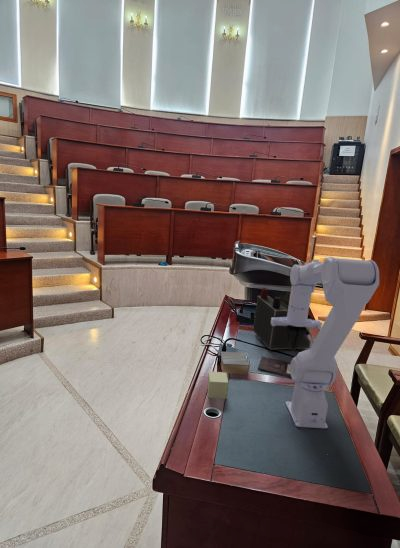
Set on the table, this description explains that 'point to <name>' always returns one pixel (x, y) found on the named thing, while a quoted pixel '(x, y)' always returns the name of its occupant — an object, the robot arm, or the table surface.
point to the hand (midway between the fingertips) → (291, 348)
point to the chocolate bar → (275, 366)
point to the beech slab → (234, 363)
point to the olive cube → (217, 385)
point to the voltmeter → (274, 334)
